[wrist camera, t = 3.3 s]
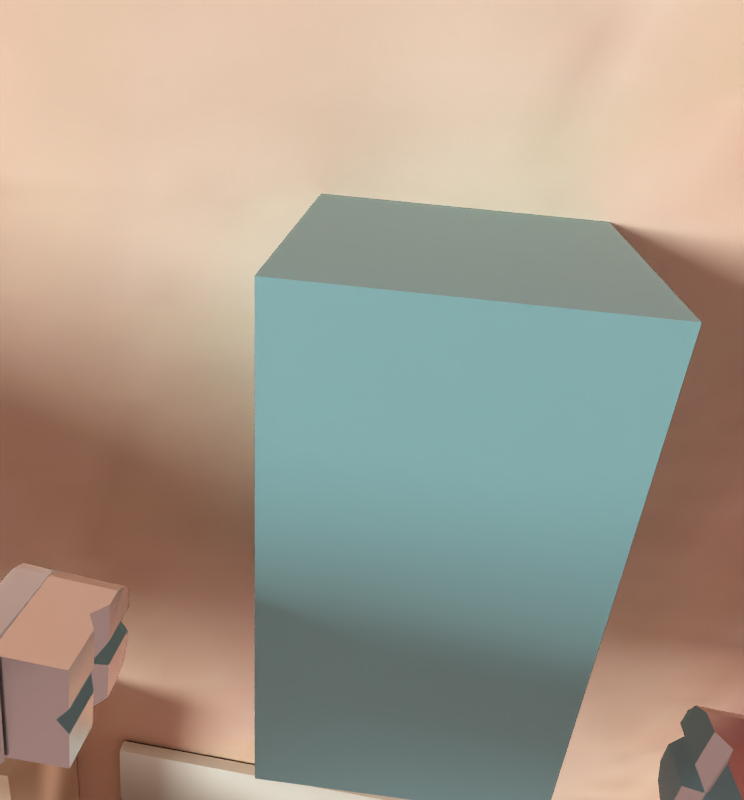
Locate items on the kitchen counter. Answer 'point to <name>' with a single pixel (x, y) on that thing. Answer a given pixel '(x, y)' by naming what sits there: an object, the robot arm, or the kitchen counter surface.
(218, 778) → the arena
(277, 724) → the teal block
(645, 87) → the kitchen counter surface
